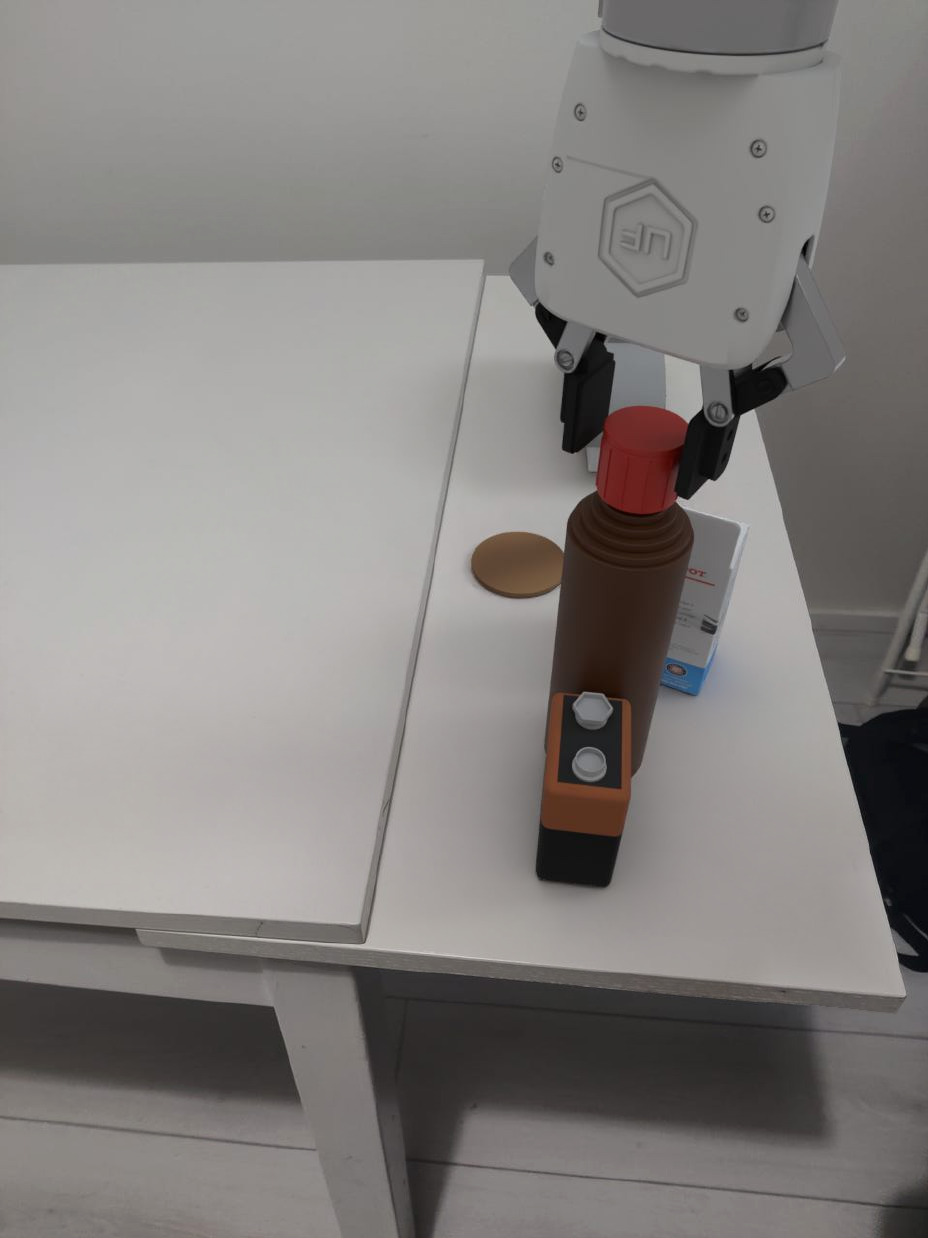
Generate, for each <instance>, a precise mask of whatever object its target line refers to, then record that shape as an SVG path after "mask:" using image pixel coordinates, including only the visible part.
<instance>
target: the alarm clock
mask: <svg viewBox="0 0 928 1238" xmlns="http://www.w3.org/2000/svg"><path fill="white" fill-rule="evenodd" d="M606 348H607V351H608V352H611V353H614V359H613V360H615V362H616V364H615V371H614V379H613V386H612V393H611V400H610V407H609V414H608V416H609V415H610V414H611V413H613V412H614V411H616V410H619V409H621V408H625V407H630V406H653V407H658V408H662V409H666V404H667V403H666V402H667V382H666V381H667V380H666V379H667V377H666V376H667V375H666V374H667V373H666V359H665V354H663V353H660V352H657V351H654V350H651V349H648V348H645V347H641V346H638V345H635V344H632V343H629V342H626V341H623V340H620V339H617V338H614V337H610V339H609V341H608V343H607V345H606ZM602 437H603V432H602V433H601V434H599V435H598V436H597V437H596V438H595V439H593V440H592V441H591V442H590V443H589V444H588V445H586V446H585V447H584V448H585V451H586V460H587V468H588V472H593V473H594V472H595V473H597V469H598V461H599V453H600V445H601V438H602Z"/></svg>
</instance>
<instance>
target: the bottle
mask: <svg viewBox="0 0 928 1238" xmlns="http://www.w3.org/2000/svg"><path fill="white" fill-rule="evenodd" d="M679 505H680V504H679V503H678V502H677V500H676V501H675V502H674V503H673V505H671V506H670V507H669V508H667V509H665V510H663V511H661V512H657V513H651V514H635V513H629V512H624V511H621V510H618V509H616V508H614V507H612V506H610V505H609V504H607V503H606V502H604V501H603V499H602V498H601V497H600V496H599V494H598V492H597V489H596V490H595V491H593V492H591V493H589V494H588V495H586V496H584V497H583V498H582V499H581V500H580V501H579V502H577V504H576V505H575V507H574V509H572V511H571V512H570V513H569V516H568V518H567V522H566V530H565V540H564V550H563V553H564V558H563V567H562V577H561V583H560V585H559V586H560V589H559V598H558V605H557V616H556V625H555V626H556V627H555V635H554V644H553V654H552V663H551V672H550V673H551V674H550V683H549V693H548V703H547V711H546V713H547V714H546V722H545V731H544V740H543V741H544V743H543V748H544V753H545V754H546V749H547V740H548V731H549V721H550V712H551V703H552V698H553V696H554V695H555V694H556V693H570V694H579V695H581V694H582V693H583V692H591V693H601V694H604V695H605V697H608V698H618V699H625V700H627V701H628V702H629V703H630V706H631V778H632V777H633V776H634V775H635V774H636V773H638V771H639V769H640V767H641V765H642V763H643V759H644V755H645V751H646V747H647V743H648V738H649V734H650V730H651V725H652V721H653V718H654V713H655V708H656V704H657V700H658V695H659V691H660V688H661V679H662V675H663V671H664V666H665V662H666V658H667V654H668V650H669V645H670V641H671V637H672V633H673V628H674V624H675V620H676V616H677V611H678V607H679V603H680V599H681V594H682V590H683V586H684V582H685V577H686V573H687V569H688V565H689V560H690V556H691V552H692V548H693V544H694V531H693V528H692V525H691V522H690V519H689V517H688V515H687V513H686V512H685V511H684V509H683V508H682V507H681V506H682V505H680V506H679Z"/></svg>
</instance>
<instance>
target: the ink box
mask: <svg viewBox="0 0 928 1238" xmlns="http://www.w3.org/2000/svg"><path fill="white" fill-rule="evenodd" d="M679 506H681V507H682V508H683V509H684V511H685V512H686V513H687V515H688V517H689V519H690V522H691V525H692V528H693V531H694V544H693V548H692V552H691V556H690V560H689V565H688V569H687V573H686V577H685V582H684V586H683V590H682V594H681V599H680V603H679V607H678V611H677V616H676V620H675V624H674V628H673V633H672V637H671V641H670V645H669V650H668V654H667V658H666V662H665V666H664V671H663V675H662V679H661V683H660V685H665V686H666V687H670V688H673V689H675V690H679V691H682V692H684V693H687V694H690V695H693V696H698V695H700V692H701V691H702V688H703V685H704V683H705V680H706V678H707V675H708V673H709V670H710V667H711V665H712V663H713V660H714V657H715V654H716V651H717V648H718V645H719V640H720V637H721V633H722V630H723V627H724V623H725V620H726V616H727V613H728V609H729V607H730V603H731V598H732V594H733V590H734V587H735V583H736V579H737V576H738V572H739V568H740V564H741V561H742V557H743V553H744V549H745V546H746V542H747V538H748V533H749V529H750V524H748V523H744V522H741V521H738V520H734V519H730V518H726V517H722V516H719V515H715V514H711V513H709V512H704V511H702V510H701V511H700V510H697V509H693V508H691V507H686V506H683V505H680V504H679Z"/></svg>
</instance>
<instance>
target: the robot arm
mask: <svg viewBox="0 0 928 1238" xmlns="http://www.w3.org/2000/svg"><path fill="white" fill-rule="evenodd" d="M838 4H839V0H598V8H597V17H598V18H601V21H600V29H598V30H594V31H589V32H587V33H583V34H581V35H580V36H579V37H577V40H576V43H575V46H574V47H575V48H574V50H573V53H572V56H571V61H570V65H569V67H568V71H567V74H566V79H565V82H564V87H563V91H562V95H561V99H560V103H559V106H558V107H559V108H558V112H557V116H556V119H555V125H554V128H553V129H554V130H553V135H552V140H551V145H550V149H549V155H548V161H547V167H546V173H545V180H544V188H543V193H542V200H541V208H540V215H539V225H538V231H537V235H536V236H535V238H534V239H532V241H530V243H529V244H528V245H527V246H526V247H525V248H524V249H523V251H521V253H520V254H518V255H517V256H516V258H515V259H514V260H513V261H512V262H511V263H510V264H509V267H508V276H509V277H510V280H511V281H512V282H513V284H514V285H515V286H516V288H517V290H518V291H519V292H520V293H521V295H522V296H523V298H524V299H525V301H526V302H527V303H528V305H529V307H533V308H534V316H535V319H536V321H537V322H538V324H539V326H540V327H541V329H542V330H543V332H544V333H545V335H546V337H547V339H548V340H549V341H550V344H551V345H552V347H553V348H554V350H555V351H554V355H553V361H554V364H555V366H556V368H557V369H558V370H559V371H560V372H562V373H564V374H563V381H562V382H563V383H562V392H561V402H560V403H561V404H560V411H559V412H560V414H559V421H560V422H561V423H562V424H563V432H562V440H561V450H562V451H563V452H567V453H568V454H570V455H574V454H575V453H576V454H577V453H579V452H581V450H583V449H584V448H586V447H585V446H586V445H588V444H589V443H590V442H591V441H592V440H593V439H595V438H596V437H597V436H598V435H599V434H601V433H602V432H603V430H604V423H605V420H606V418H607V417H608V414H609V407H610V400H611V393H612V386H613V379H614V371H615V364H616V362H615V360H613V359H614V353H611V352H608V351H607V348H606V345H607V343H608V341H609V339H610V337H614V338H617V339H620V340H623V341H626V342H629V343H632V344H635V345H638V346H641V347H645V348H648V349H651V350H654V351H657V352H660V353H663V354H664V355H667V356H670V357H672V358H675V359H678V360H683V361H685V362H689V363H692V364H696V365H698V366H699V375H700V376H699V377H700V387H701V396H702V405H701V409H700V410H699V411H698V412H697V413H696V414H695V415H694V416H692V418H691V419H690V420H689V422H688V427H687V431H686V436H685V441H684V446H683V450H682V455H681V460H680V464H679V469H678V474H677V478H676V483H675V488H674V492H676V493H677V496H678V498H681V499H683V500H686V501H689V500H690V499H692V497H693V496H694V495H695V494H696V493H697V492H698V491H699V490H700V489H701V488H702V487H703V486H704V485H705V484H706V483H707V481H709V480H711V481H713V482H716V481H718V479H719V478H720V477H722V475H723V474H724V472H725V470H726V469H727V466H728V465H729V461H730V458H731V455H732V450H733V447H734V443H735V440H736V436H737V431H738V428H739V424H740V419H741V416H742V415H745V414H747V413H749V412H751V411H753V410H755V409H757V408H759V407H762V406H763V405H766V404H768V403H769V402H772V401H774V400H776V399H777V398H778V397H779V396H781V395H784V394H786V393H789V392H791V391H792V392H794V391H797V390H799V389H801V388H804V387H806V386H809V385H811V384H812V385H813V384H815V383H818V382H820V381H822V380H825V379H828V378H829V377H831V376H832V375H833V374H834V373H835V372H836V371H837V370H838V369H839V368H840V367H841V366H842V364H843V363H844V362H845V360H846V359H847V350H846V347H845V345H844V343H843V340H842V338H841V336H840V334H839V332H838V330H837V327H836V325H835V323H834V321H833V318H832V316H831V313H830V312H829V309H828V307H827V305H826V303H825V300H824V298H823V296H822V293H821V291H820V289H819V286H818V284H817V281H816V280H815V278H814V276H813V273H812V268H813V264H814V261H815V255H816V250H817V247H818V241H819V238H820V233H821V229H822V228H821V227H822V222H823V217H824V212H825V207H826V201H827V197H828V191H829V186H830V185H829V184H830V179H831V173H832V166H833V160H834V151H835V145H836V137H837V128H838V121H839V112H840V101H841V91H842V89H841V88H842V73H843V71H842V69H843V57H842V55H841V54H839V53H838V52H834V51H830V50H827V47H828V42H829V38H830V35H831V31H832V27H833V23H834V19H835V15H836V11H837V8H838ZM782 331H785V334H786V335H787V338H788V340H789V342H790V345H791V347H792V351H791V352H789V353H787V354H785V355H780V356H779V355H778V356H776V357H774V358H772V359H769V360H768V361H766V362H764V363H762V364H760V365H758V359H759V358H760V357H761V356H762V355H763V354H764V353H765V351H766V350H767V349H768V347H769V346H770V344H771V342H772V340H773V338H774V336H775V334H776V333H780V332H782Z"/></svg>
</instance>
